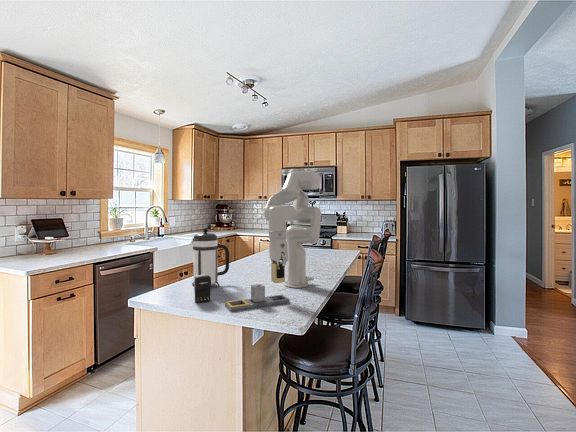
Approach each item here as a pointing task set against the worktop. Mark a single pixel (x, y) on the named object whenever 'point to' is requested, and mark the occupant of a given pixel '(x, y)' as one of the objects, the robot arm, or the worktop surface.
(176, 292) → the worktop surface
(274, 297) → the grey block holder rack
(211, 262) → the coffee press
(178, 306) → the worktop surface
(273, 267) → the wooden block with knob
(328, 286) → the worktop surface
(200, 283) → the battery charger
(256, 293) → the grey block with knob
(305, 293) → the worktop surface
